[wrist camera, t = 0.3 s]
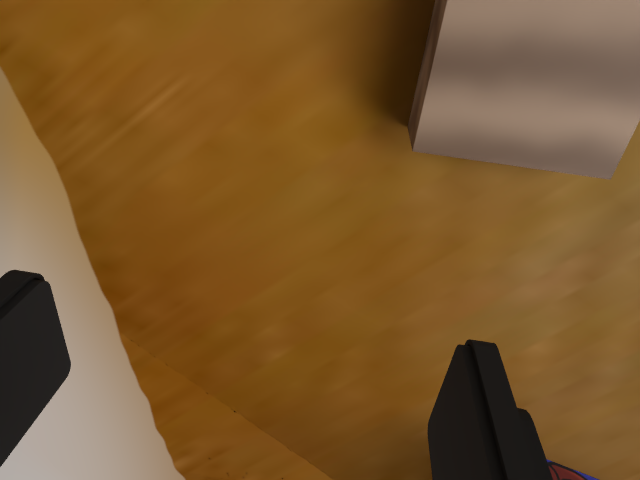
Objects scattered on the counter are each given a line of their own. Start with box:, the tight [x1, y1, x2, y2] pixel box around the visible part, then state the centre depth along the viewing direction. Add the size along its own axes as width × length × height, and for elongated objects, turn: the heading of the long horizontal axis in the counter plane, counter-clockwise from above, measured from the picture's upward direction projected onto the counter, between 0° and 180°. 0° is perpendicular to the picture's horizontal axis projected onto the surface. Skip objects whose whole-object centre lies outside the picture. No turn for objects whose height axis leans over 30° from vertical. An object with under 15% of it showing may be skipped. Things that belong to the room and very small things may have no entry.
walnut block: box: [408, 0, 640, 179], centre depth 31 cm, size 14×14×6 cm
